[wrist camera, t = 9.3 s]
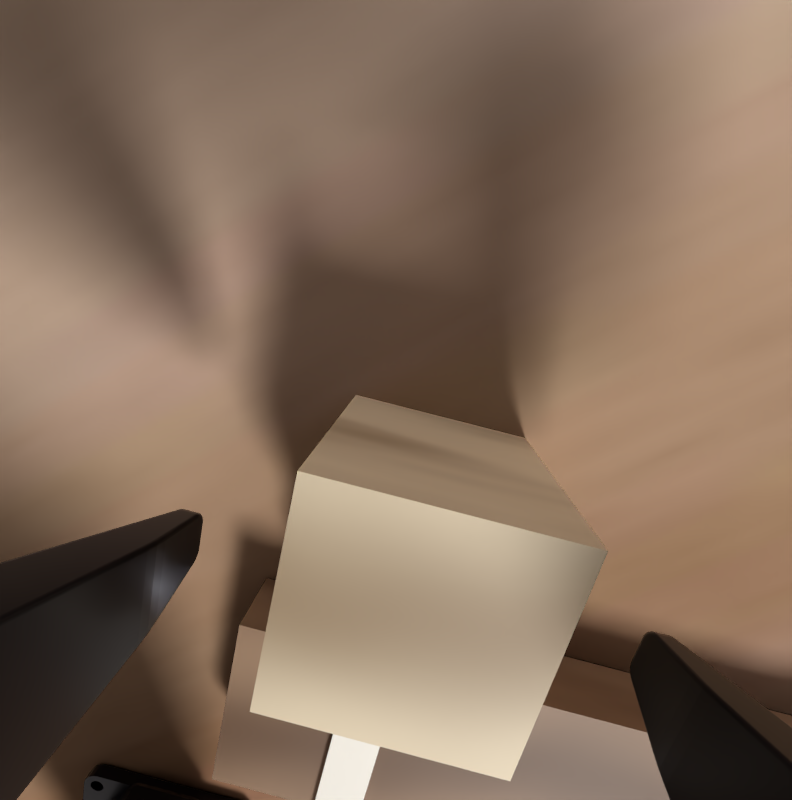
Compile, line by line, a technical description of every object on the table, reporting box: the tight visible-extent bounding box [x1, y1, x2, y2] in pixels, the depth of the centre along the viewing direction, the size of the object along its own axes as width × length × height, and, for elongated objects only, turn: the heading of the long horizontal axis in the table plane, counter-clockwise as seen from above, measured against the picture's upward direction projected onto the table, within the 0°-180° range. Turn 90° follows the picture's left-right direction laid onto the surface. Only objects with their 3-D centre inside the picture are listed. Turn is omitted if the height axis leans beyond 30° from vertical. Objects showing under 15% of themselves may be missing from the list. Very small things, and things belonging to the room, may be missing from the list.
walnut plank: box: [212, 578, 792, 800], centre depth 13 cm, size 6×28×2 cm, turn 76°
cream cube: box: [250, 395, 608, 781], centre depth 10 cm, size 6×5×6 cm
